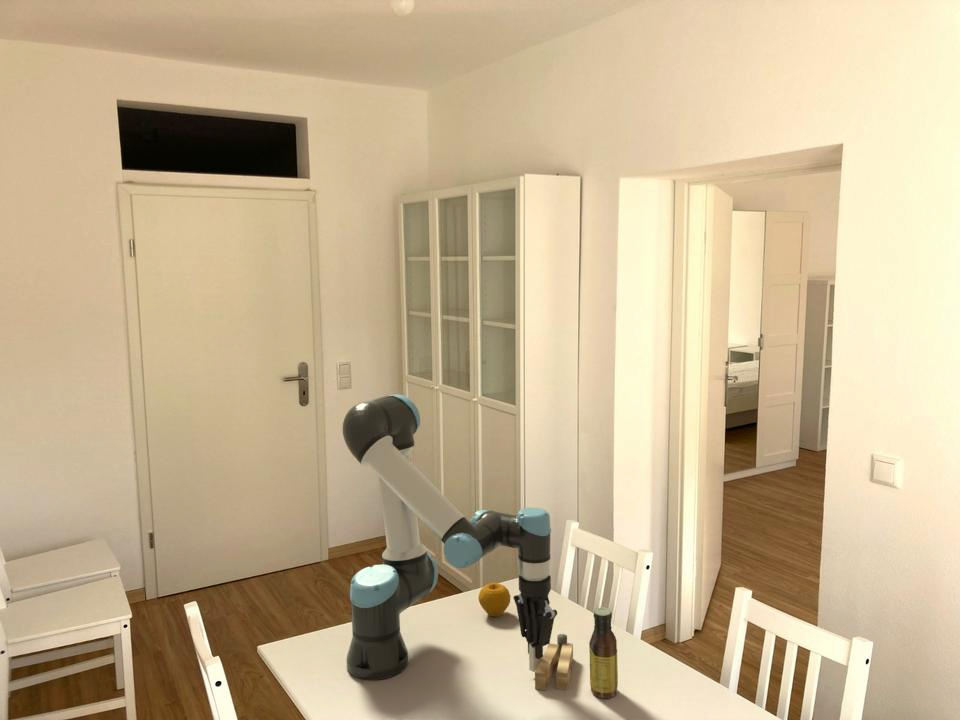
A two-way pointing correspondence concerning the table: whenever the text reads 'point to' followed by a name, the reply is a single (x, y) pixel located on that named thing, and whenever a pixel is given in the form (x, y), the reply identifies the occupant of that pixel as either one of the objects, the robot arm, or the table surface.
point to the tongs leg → (546, 666)
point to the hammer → (564, 662)
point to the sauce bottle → (603, 655)
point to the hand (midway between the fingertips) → (535, 668)
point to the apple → (494, 599)
